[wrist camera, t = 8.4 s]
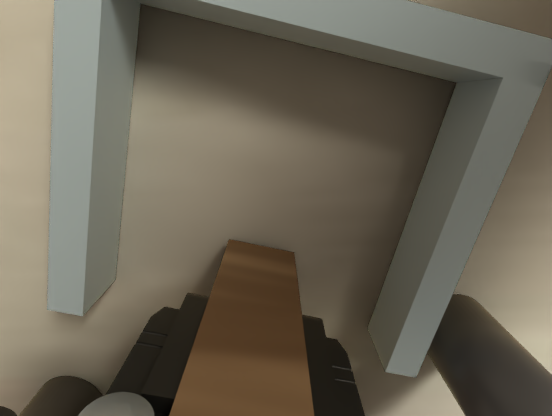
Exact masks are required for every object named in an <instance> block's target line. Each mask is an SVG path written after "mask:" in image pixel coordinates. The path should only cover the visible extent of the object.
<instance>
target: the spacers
mask: <svg viewBox="0 0 552 416" xmlns="http://www.w3.org/2000/svg"><path fill="white" fill-rule="evenodd" d="M427 353H428V355H429V356H430V358H431V360H432V361H433V363H434V365H435V366H436V368H437V370H438V371H439V373H440V374H441V376H442V378H443V379H444V381H445V383H446V384H447V386H448V388H449V389H450V391H451V393H452V394H453V396H454V398H455V399H456V401H457V402H458V404H459V406H460V407H461V409H462V411H463V412H464V414H465V416H552V375H551V374H550V373H549V372H548V371H547V370H546V369H545V368H544V367H543V366H542V365H541V364H540V363H539V362H538V361H537V360H536V359H535V358H534V357H533V356H532V355H531V354H530V353H529V352H528V351H527V350H526V349H525V348H524V347H523V346H522V345H521V344H520V343H519V342H518V341H517V340H516V339H515V338H514V337H513V336H512V335H511V334H510V333H509V332H508V331H507V330H506V329H505V328H504V327H503V326H502V325H501V324H500V323H499V322H498V321H497V320H496V319H495V318H494V317H493V316H492V315H491V314H490V313H489V312H487V311H486V310H485V309H484V308H483V307H482V306H481V305H480V304H479V303H478V302H477V301H476V300H475V299H473V298H471V297H469V296H465V295H459V294H454V295H452V297H451V299H450V301H449V304H448V306H447V308H446V310H445V313H444V315H443V317H442V319H441V322H440V324H439V326H438V329H437V331H436V333H435V335H434V338H433V340H432V342H431V345H430V347H429V349H428V351H427ZM100 397H102V396H101V394H100V392H99V391H98V390H97V389H96V388H95V387H94V386H93V385H92V384H90V383H89V382H87V381H85V380H83V379H80V378H77V377H72V376H60V377H56V378H53V379H51V380H49V381H48V382H46V383H45V384H44V385H43V387H42V388H41V389H40V390H39V392H38V393H37V394H36V395H35V396H34V398H33V399H32V400H31V401H30V403H29V404H28V405H27V406H26V407H25V409H24V410H23V411H22V412H21V414H20V415H19V416H78V415H79V414H80V413H81V411H82V410H83V409H84V408H85V407H86V406H87V405H89V404H90V403H91V402H93V401H94V400H96V399H98V398H100Z"/></svg>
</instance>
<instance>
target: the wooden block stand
mask: <svg viewBox="0 0 552 416" xmlns="http://www.w3.org/2000/svg"><path fill="white" fill-rule="evenodd" d="M169 416H314V410H313V402H312V394H311V385H310V377H309V369H308V361H307V353H306V345H305V337H304V328H303V320H302V312H301V304H300V296H299V288H298V280H297V271H296V263H295V255H294V252H289V251H284V250H279V249H275V248H270V247H265V246H260V245H255V244H250V243H245V242H240V241H235V240H230V239H229V241H228V244H227V247H226V250H225V253H224V255H223V258H222V261H221V264H220V267H219V270H218V273H217V276H216V279H215V282H214V285H213V288H212V291H211V294H210V297H209V300H208V303H207V306H206V309H205V311H204V314H203V317H202V320H201V323H200V326H199V329H198V332H197V335H196V338H195V341H194V344H193V347H192V350H191V353H190V356H189V359H188V362H187V365H186V367H185V370H184V373H183V376H182V379H181V382H180V385H179V388H178V391H177V394H176V397H175V400H174V403H173V406H172V409H171V412H170V415H169Z"/></svg>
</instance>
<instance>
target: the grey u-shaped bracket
mask: <svg viewBox="0 0 552 416" xmlns="http://www.w3.org/2000/svg"><path fill="white" fill-rule="evenodd" d="M141 4H144V5H148V6H152V7H156V8H160V9H164V10H168V11H172V12H176V13H180V14H184V15H188V16H192V17H196V18H200V19H204V20H208V21H212V22H216V23H220V24H224V25H228V26H232V27H236V28H240V29H244V30H248V31H252V32H256V33H260V34H264V35H268V36H272V37H276V38H280V39H284V40H288V41H292V42H296V43H300V44H304V45H308V46H312V47H316V48H320V49H324V50H328V51H332V52H336V53H340V54H344V55H348V56H352V57H356V58H360V59H364V60H368V61H372V62H376V63H380V64H384V65H388V66H392V67H396V68H400V69H404V70H408V71H412V72H416V73H420V74H424V75H428V76H432V77H436V78H440V79H444V80H448V81H452V82H456V86H455V89H454V92H453V94H452V97H451V100H450V103H449V105H448V108H447V111H446V114H445V116H444V119H443V122H442V125H441V127H440V130H439V133H438V136H437V138H436V141H435V144H434V147H433V149H432V152H431V155H430V158H429V160H428V163H427V166H426V169H425V171H424V174H423V177H422V180H421V182H420V185H419V188H418V191H417V193H416V196H415V199H414V202H413V204H412V207H411V210H410V213H409V215H408V218H407V221H406V224H405V226H404V229H403V232H402V235H401V237H400V240H399V243H398V246H397V248H396V251H395V254H394V257H393V259H392V262H391V265H390V268H389V270H388V273H387V276H386V279H385V281H384V284H383V287H382V290H381V292H380V295H379V298H378V301H377V303H376V306H375V309H374V312H373V314H372V317H371V320H370V323H369V325H368V328H367V329H368V331H369V334H370V336H371V338H372V341H373V343H374V346H375V348H376V351H377V353H378V356H379V358H380V361H381V363H382V365H383V368H384V370H385V372H388V373H393V374H398V375H404V376H409V377H415V378H416V377H417V374H418V372H419V370H420V367H421V365H422V363H423V361H424V358H425V356H426V354H427V351H428V349H429V347H430V345H431V342H432V340H433V338H434V335H435V333H436V331H437V329H438V326H439V324H440V322H441V319H442V317H443V315H444V313H445V310H446V308H447V306H448V304H449V301H450V299H451V297H452V294H453V292H454V290H455V288H456V285H457V283H458V281H459V278H460V276H461V274H462V272H463V269H464V267H465V265H466V262H467V260H468V258H469V256H470V253H471V251H472V249H473V246H474V244H475V242H476V240H477V237H478V235H479V233H480V230H481V228H482V226H483V224H484V221H485V219H486V217H487V215H488V212H489V210H490V208H491V205H492V203H493V201H494V199H495V196H496V194H497V192H498V189H499V187H500V185H501V183H502V180H503V178H504V176H505V173H506V171H507V169H508V167H509V164H510V162H511V160H512V157H513V155H514V153H515V151H516V148H517V146H518V144H519V141H520V139H521V137H522V135H523V132H524V130H525V128H526V126H527V123H528V121H529V119H530V116H531V114H532V112H533V110H534V107H535V105H536V103H537V100H538V98H539V96H540V94H541V91H542V89H543V87H544V84H545V82H546V80H547V78H548V75H549V73H550V71H551V68H552V39H551V38H547V37H544V36H540V35H536V34H532V33H528V32H525V31H521V30H517V29H513V28H510V27H506V26H502V25H498V24H494V23H491V22H487V21H483V20H479V19H476V18H472V17H468V16H464V15H461V14H457V13H453V12H449V11H445V10H442V9H438V8H434V7H430V6H427V5H423V4H419V3H415V2H411V1H408V0H54V37H53V80H52V124H51V167H50V211H49V254H48V298H47V310H51V311H56V312H62V313H67V314H72V315H78V316H83V315H84V314H85V313H86V312H87V311H88V310H89V309H90V308H91V307H92V305H93V304H94V303H95V302H96V301H97V300H98V299H99V298H100V296H101V295H102V294H103V293H104V292H105V291H106V290H107V289H108V288H109V286H110V285H111V284H112V283H113V282H114V281H115V279H116V268H117V257H118V246H119V235H120V224H121V213H122V202H123V191H124V180H125V170H126V159H127V148H128V137H129V126H130V115H131V104H132V93H133V82H134V71H135V60H136V49H137V38H138V27H139V16H140V5H141Z"/></svg>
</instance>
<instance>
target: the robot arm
mask: <svg viewBox="0 0 552 416" xmlns="http://www.w3.org/2000/svg"><path fill="white" fill-rule="evenodd" d="M208 300H209V297H207V296H201V295H196V294H191V293H187V295H186V297H185V299H184V301H183V304H182V306H181V308H180V310H179V309H173V308H168V307H164V308H163V309H161V310H160V311H158V312H157V313H156V314H154V315H153V316H151V318H150V319H149V321H148V323H147V325H146V326H145V328H144V330H143V333H141V335H140V337H139V338H138V340H137V342H136V345H134V347H133V349H132V351H131V352H130V354H129V356H128V357H127V359H126V361H125V363H124V364H123V366H122V368H121V370H120V371H119V373H118V375H117V376H116V378H115V380H114V382H113V383H112V385H111V387H110V389H109V390H108V392H107V393H106V395H104V396H102V397H100V398H98V399H96V400H94V401H93V402H91V403H90V404H89V405H87V406H86V407H85V408H84V409H83V410H82V411H81V413H80V414H79V415H78V416H169V415H170V412H171V409H172V406H173V403H174V400H175V397H176V394H177V391H178V388H179V385H180V382H181V379H182V376H183V373H184V370H185V367H186V365H187V362H188V359H189V356H190V353H191V350H192V347H193V344H194V341H195V338H196V335H197V332H198V329H199V326H200V323H201V320H202V317H203V314H204V311H205V309H206V306H207V303H208ZM302 320H303V328H304V337H305V345H306V353H307V361H308V369H309V377H310V385H311V394H312V402H313V410H314V416H365V415H364V411H363V408H362V404H361V401H360V397H359V394H358V390H357V387H356V384H355V379H354V376H353V372H352V371H351V365H350V362H349V358H348V355H347V353H346V351H345V350H344V349H343V347H342V346H341V344H340V343H339V342H338V340H337V339H332V338H327V337H326V335H325V330H324V326H323V321H322V319H321V318H315V317H310V316H305V315H302ZM0 416H17V415H16V414H15V412H13V411H12V410H10V409H8V408H6V407H2V406H0Z"/></svg>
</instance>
